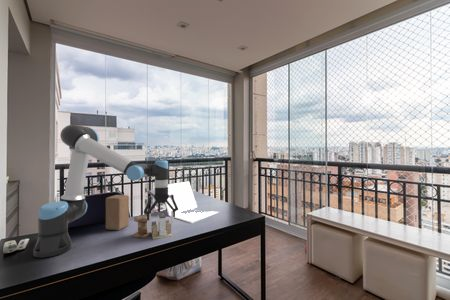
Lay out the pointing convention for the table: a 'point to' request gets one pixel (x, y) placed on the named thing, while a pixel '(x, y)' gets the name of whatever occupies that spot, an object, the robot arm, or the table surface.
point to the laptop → (184, 203)
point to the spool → (142, 227)
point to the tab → (161, 224)
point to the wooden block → (117, 212)
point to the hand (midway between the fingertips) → (161, 224)
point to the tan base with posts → (155, 230)
